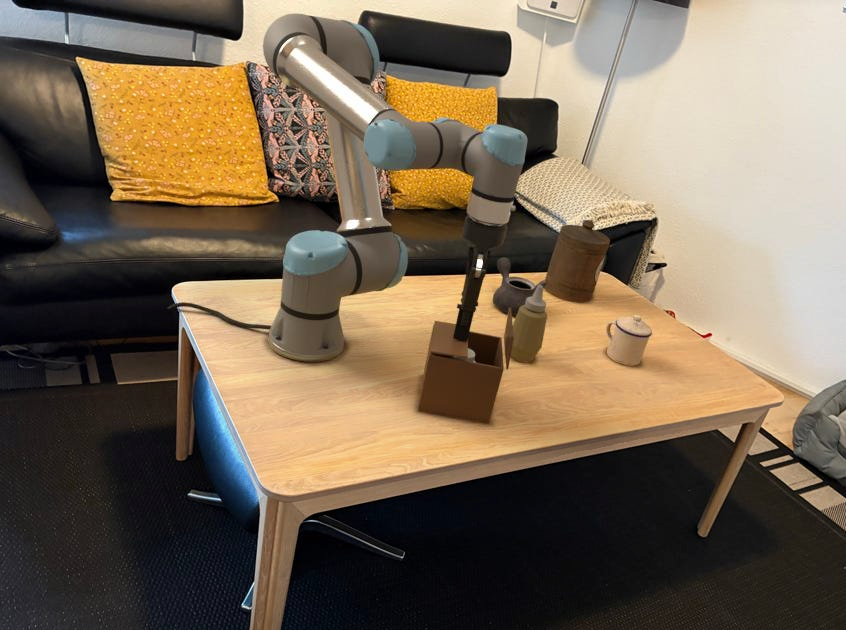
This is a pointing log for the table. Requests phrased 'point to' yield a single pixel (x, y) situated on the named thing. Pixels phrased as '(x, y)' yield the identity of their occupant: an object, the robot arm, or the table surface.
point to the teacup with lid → (628, 340)
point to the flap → (447, 341)
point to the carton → (466, 378)
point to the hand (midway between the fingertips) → (460, 337)
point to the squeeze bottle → (529, 327)
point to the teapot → (512, 289)
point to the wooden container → (576, 262)
